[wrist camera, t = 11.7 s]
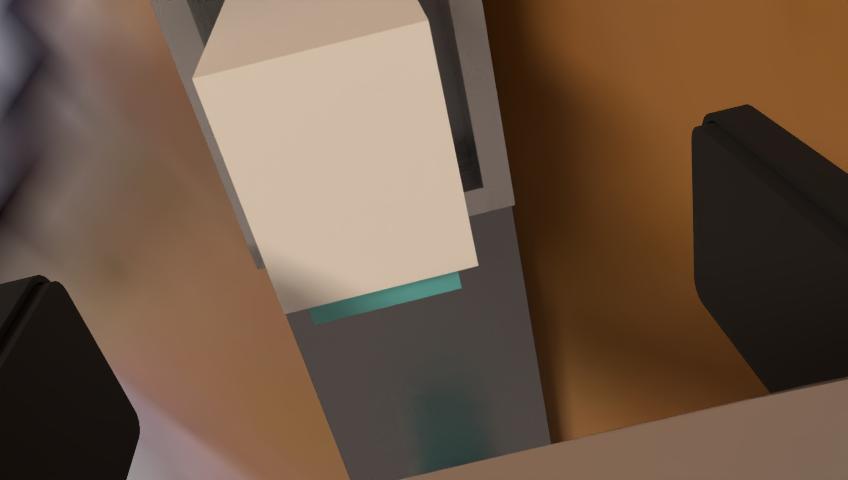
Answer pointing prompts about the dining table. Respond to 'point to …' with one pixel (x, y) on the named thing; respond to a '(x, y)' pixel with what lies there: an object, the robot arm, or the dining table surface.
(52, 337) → the robot arm
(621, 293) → the dining table surface
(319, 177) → the cream block teal pad
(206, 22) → the rail
